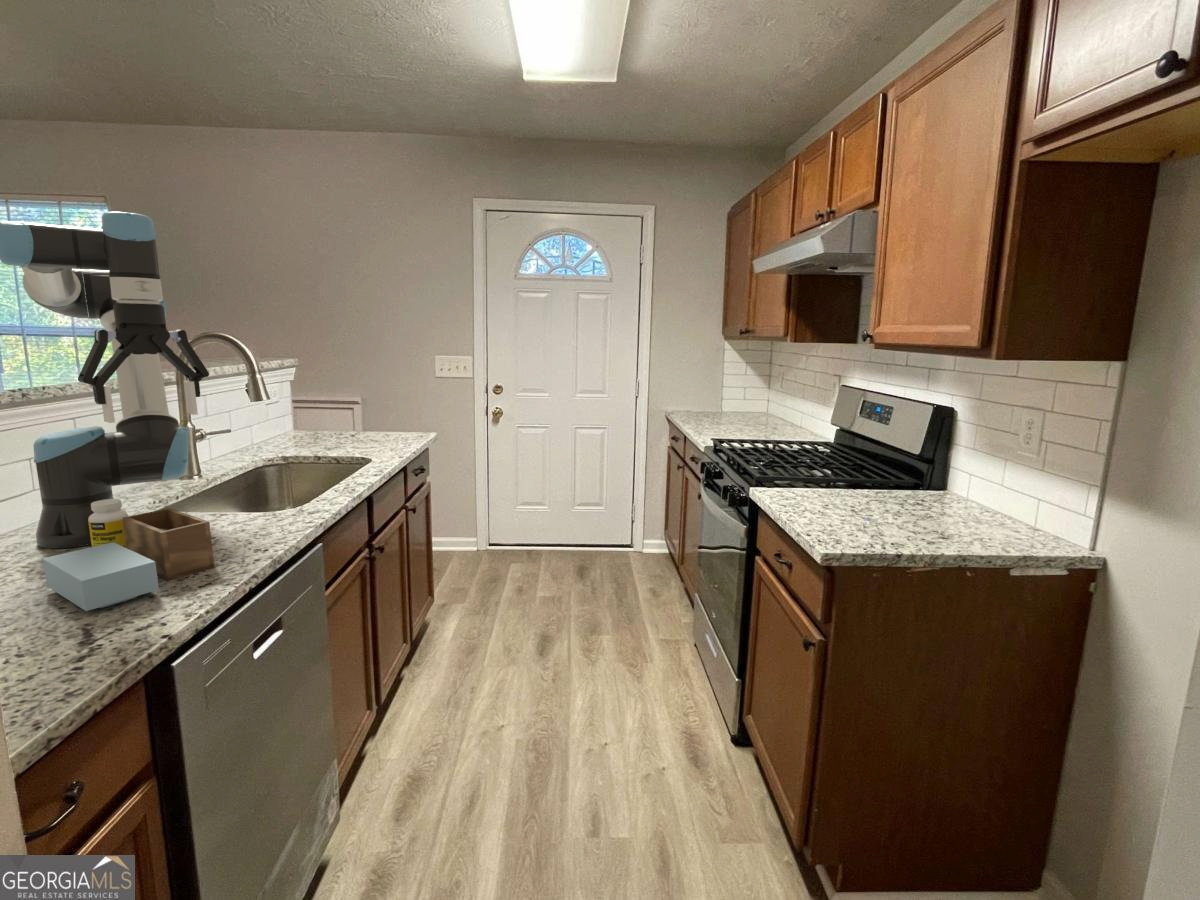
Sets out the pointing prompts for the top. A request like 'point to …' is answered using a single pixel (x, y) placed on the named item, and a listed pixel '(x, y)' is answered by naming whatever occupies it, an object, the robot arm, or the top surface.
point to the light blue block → (100, 575)
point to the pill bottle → (107, 523)
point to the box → (171, 541)
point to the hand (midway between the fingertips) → (153, 418)
